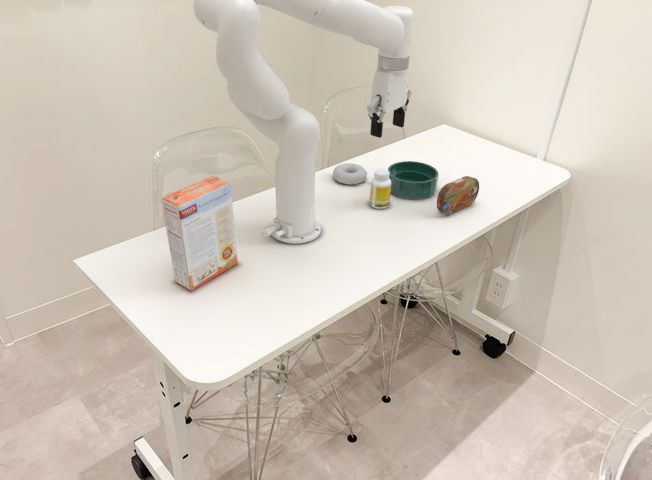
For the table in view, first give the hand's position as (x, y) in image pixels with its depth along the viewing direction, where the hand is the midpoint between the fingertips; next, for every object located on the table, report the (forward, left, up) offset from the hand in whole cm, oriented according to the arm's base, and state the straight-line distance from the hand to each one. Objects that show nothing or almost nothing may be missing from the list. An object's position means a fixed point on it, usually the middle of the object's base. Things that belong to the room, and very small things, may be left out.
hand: (387, 131), depth 150 cm
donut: (+5, +15, -21) cm, 26 cm away
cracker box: (-55, +8, -21) cm, 59 cm away
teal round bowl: (+12, -2, -20) cm, 24 cm away
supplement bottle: (-2, -1, -21) cm, 21 cm away
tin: (+11, -17, -21) cm, 29 cm away
